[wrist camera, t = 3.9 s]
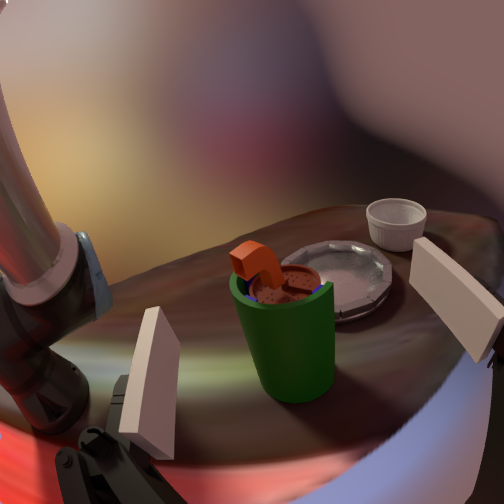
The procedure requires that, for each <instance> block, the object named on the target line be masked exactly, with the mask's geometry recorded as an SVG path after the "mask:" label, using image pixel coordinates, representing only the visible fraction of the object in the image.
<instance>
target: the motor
mask: <svg viewBox="0 0 504 504" xmlns="http://www.w3.org/2000/svg"><path fill="white" fill-rule="evenodd" d="M229 254H230V258H231V261H232V265H233V268H234V272H233V273H232V275H231V278H230V290H231V293H232V296H233V299H234V302H235V306H236V309H237V312H238V315H239V318H240V321H241V324H242V327H243V331H244V334H245V337H246V340H247V343H248V346H249V349H250V352H251V355H252V358H253V361H254V364H255V367H256V370H257V373H258V376H259V378H260V381H261V384H262V386H263V388H264V390H265V391H266V392H267V393H268V394H269V395H270V396H272V397H273V398H275V399H277V400H279V401H282V402H287V403H303V402H308V401H311V400H314V399H316V398H318V397H320V396H321V395H323V394H324V393H325V392H326V391H328V390H329V388H330V387H331V386H332V385H333V383H334V369H335V309H334V282H330V281H326V283H325V284H324V285H322V284H321V278H320V276H319V274H318V273H317V272H316V271H315V270H314V269H312V268H310V267H308V266H304V265H299V264H284V265H279V263H278V260H277V258H276V256H275V254H274V253H273V251H272V250H271V249H270V248H269V247H267V246H264V245H262V244H259V243H257V242H254V241H246V242H244V243H243V244H241V245H240V246H238V247H237V248H235V249H234V250H233V251H231V252H230V253H229Z"/></svg>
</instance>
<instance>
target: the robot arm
mask: <svg viewBox="0 0 504 504" xmlns="http://www.w3.org/2000/svg"><path fill="white" fill-rule="evenodd" d="M7 3H8V0H0V13H1V12H2V10H3V9H4V7H5V6H6V4H7ZM0 269H1V271H2V272H3V273H4V278H3V277H2V274H1V273H0V384H1V385H2V386H3V387H4V388H5V390H6V391H7V392H8V393H9V394H10V395H11V396H12V397H13V399H14V401H15V402H16V404H17V406H18V407H19V409H20V410H21V412H22V413H23V415H24V417H25V418H26V420H27V421H28V422H29V423H30V424H31V425H32V426H33V427H35V428H36V429H37V430H38V431H40V432H41V433H44V434H48V435H53V434H58V433H61V432H63V431H65V430H66V429H68V428H69V427H70V426H71V425H73V424H74V422H75V421H76V420H77V419H78V418H79V416H80V415H81V413H82V411H83V409H84V407H85V405H86V402H87V398H88V382H87V379H86V377H85V375H84V374H83V373H82V372H81V371H80V370H79V368H78V367H77V366H76V365H74V364H73V363H72V362H70V361H68V360H67V359H65V358H63V357H62V356H60V355H59V354H57V353H55V352H54V351H52V350H51V349H50V348H49V346H51V345H52V344H54V343H56V342H58V341H59V340H61V339H63V338H64V337H66V336H68V335H69V334H71V333H73V332H75V331H76V330H78V329H80V328H81V327H83V326H85V325H87V324H88V323H90V322H92V321H93V322H94V321H96V320H98V318H99V317H100V316H102V315H103V314H105V313H106V312H108V311H109V310H110V309H111V307H112V305H113V298H112V295H111V292H110V289H109V286H108V284H107V281H106V279H105V276H104V274H103V273H102V269H101V266H100V263H99V261H98V258H97V255H96V253H95V250H94V248H93V245H92V243H91V241H90V238H89V236H88V234H87V233H86V232H83V231H82V232H76V233H74V232H73V231H72V230H71V229H70V227H68V226H67V225H65V224H63V223H60V222H55V221H53V219H52V217H51V215H50V213H49V212H48V210H47V208H46V206H45V204H44V202H43V200H42V198H41V196H40V194H39V191H38V190H37V187H36V185H35V183H34V181H33V179H32V176H31V174H30V172H29V170H28V167H27V165H26V162H25V160H24V157H23V155H22V152H21V150H20V147H19V144H18V142H17V139H16V136H15V133H14V130H13V127H12V124H11V121H10V118H9V115H8V111H7V108H6V105H5V101H4V97H3V93H2V89H1V86H0ZM409 283H410V284H411V285H412V286H413V287H414V288H415V289H416V290H417V291H418V292H419V294H420V295H421V296H422V297H423V298H424V299H425V300H426V301H427V303H428V304H429V305H430V306H431V307H432V308H433V310H434V311H435V312H436V313H437V314H438V315H439V317H440V318H441V319H442V320H443V321H444V323H445V324H446V325H447V326H448V327H449V329H450V330H451V331H452V332H453V334H454V335H455V336H456V337H457V339H458V340H459V341H460V342H461V344H462V345H463V346H464V348H465V349H466V350H467V352H468V353H469V354H470V356H471V357H472V358H473V360H474V361H475V362H476V364H478V363H479V362H480V361H482V360H483V359H485V358H486V357H487V356H488V354H489V353H490V351H491V349H492V348H493V349H494V351H495V353H494V354H493V356H492V358H491V360H490V361H489V363H488V366H487V368H489V367H490V365H491V364H492V362H493V366H492V368H493V381H492V397H491V409H490V417H489V424H488V431H487V437H486V442H485V448H484V452H483V457H482V461H481V465H480V470H479V474H478V477H477V481H476V484H475V487H474V490H473V493H472V495H471V496H470V497H469V499H468V500H467V501H466V502H465V504H504V299H503V298H502V297H501V296H500V295H499V294H498V293H496V291H495V290H494V289H493V288H491V287H490V285H488V284H487V283H486V282H485V281H484V280H483V279H481V278H479V277H477V276H473V277H472V276H471V275H470V274H469V273H468V272H467V271H466V270H464V269H463V268H462V267H461V266H460V265H459V264H457V263H456V262H455V261H454V260H453V259H452V258H450V257H449V256H448V255H447V254H446V253H444V252H443V251H442V250H441V249H439V248H438V247H437V246H436V245H434V244H433V243H432V242H431V241H429V240H428V239H427V238H425V237H422V238H418V239H415V240H414V243H413V254H412V264H411V272H410V280H409ZM180 345H181V344H180V342H179V341H178V339H177V337H176V335H175V334H174V332H173V330H172V328H171V326H170V325H169V323H168V321H167V319H166V317H165V315H164V313H163V311H162V310H161V308H160V306H158V307H153V308H148V309H146V310H145V314H144V317H143V321H142V325H141V329H140V332H139V336H138V340H137V344H136V348H135V352H134V357H133V361H132V365H131V370H130V374H129V375H121V376H120V377H119V379H118V381H117V382H116V384H115V386H114V390H113V397H112V399H111V405H110V408H109V413H108V418H107V423H106V428H105V430H104V429H102V428H101V427H99V426H96V425H95V426H89V427H87V428H85V429H84V430H83V431H82V432H81V434H80V436H79V439H78V446H79V449H80V450H81V451H76V450H75V449H73V448H71V447H63V448H61V449H60V450H59V451H58V453H57V454H56V458H55V465H56V470H57V475H58V480H59V485H60V489H61V493H62V497H63V501H64V504H188V503H187V502H186V501H185V500H184V499H183V498H182V497H181V496H180V495H179V494H178V493H177V492H176V491H175V490H174V489H173V487H172V486H171V485H170V484H169V483H168V482H167V481H166V480H165V479H164V477H163V476H162V475H161V474H160V473H159V472H158V470H157V469H156V468H155V467H154V466H153V464H151V463H150V455H151V456H152V457H154V458H155V459H157V460H174V436H175V413H176V395H177V380H178V367H179V356H180Z"/></svg>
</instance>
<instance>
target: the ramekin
mask: <svg viewBox="0 0 504 504" xmlns="http://www.w3.org/2000/svg"><path fill="white" fill-rule="evenodd" d="M366 215H367V219H368V223H369V230H370V236H371V238H372V240H373V242H374V243H375V244H376V245H377V246H378V247H380V248H382V249H384V250H387V251H392V252H405V251H409V250H411V249H413V243H414V240H415V239H418V238H422V235H423V230H424V225H425V222H426V216H427V214H426V210H425V209H424V208H423V207H422V206H421V205H419V204H417V203H415V202H413V201H409V200H404V199H384V200H379V201H376V202H374V203H372V204H370V205H369V206H368V208H367V213H366Z"/></svg>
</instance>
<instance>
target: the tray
mask: <svg viewBox="0 0 504 504" xmlns="http://www.w3.org/2000/svg"><path fill="white" fill-rule="evenodd" d="M284 264H299V265H304V266H308V267H310V268H312V269H314V270H315V271H316V272H317V273H318V274H319V276H320V278H321V284H322V285H324V284H325V283H326V281H330V282H334V309H335V324H344V323H350V322H353V321H357V320H359V319H362V318H365V317H366V316H368V315H370V314H372V313H373V312H375V311H376V310H377V309H379V308H380V307H381V306H382V305H383V303H384V302H385V301H386V299H387V297H388V295H389V292H390V291H391V285H392V266H391V262H390V261H389V260H388V259H387V258H386V257H385V256H384V255H383V254H382V253H381V252H380V251H379V250H378V249H377V250H376V248H373V247H370V246H367V245H364V244H362V243H359V242H356V241H355V242H354V241H329V242H328V241H325V242H321V243H317V244H313V245H309V246H305V247H304V248H301V249H299V250H298V251H296V252H295V253H293V254H291V255H290V256H288V257H287V258H285V259H284V260H283V261H282V263H281V265H284Z"/></svg>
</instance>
